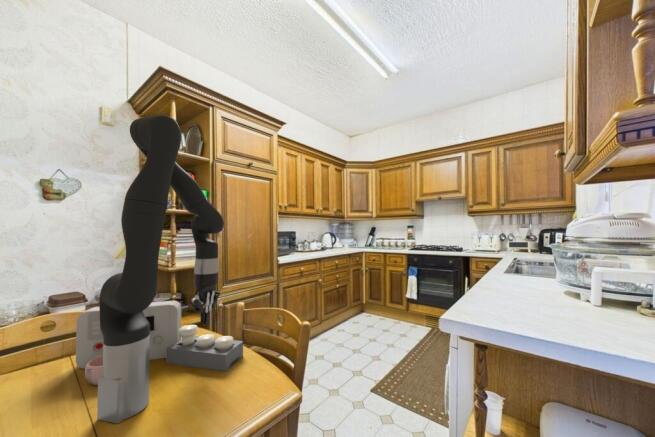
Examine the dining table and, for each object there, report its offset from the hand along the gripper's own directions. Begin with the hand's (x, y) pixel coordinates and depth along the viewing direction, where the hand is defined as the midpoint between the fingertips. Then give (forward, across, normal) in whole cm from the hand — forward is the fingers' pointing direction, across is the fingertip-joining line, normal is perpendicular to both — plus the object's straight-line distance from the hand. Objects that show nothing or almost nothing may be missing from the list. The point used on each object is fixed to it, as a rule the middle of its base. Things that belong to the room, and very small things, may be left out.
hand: (205, 322), depth 88 cm
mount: (+12, 0, 0) cm, 12 cm away
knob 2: (+11, 0, 0) cm, 11 cm away
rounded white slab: (+13, -4, +25) cm, 28 cm away
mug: (+13, -14, +21) cm, 28 cm away
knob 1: (+8, 0, +7) cm, 11 cm away
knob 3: (+11, 0, -7) cm, 13 cm away
